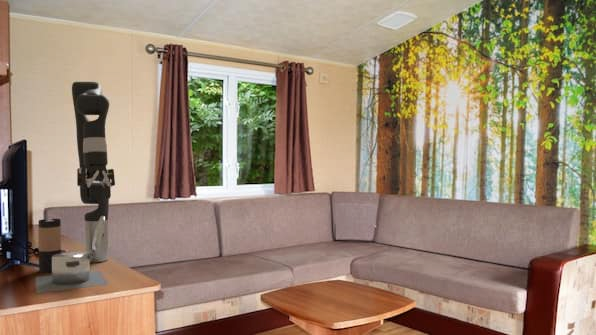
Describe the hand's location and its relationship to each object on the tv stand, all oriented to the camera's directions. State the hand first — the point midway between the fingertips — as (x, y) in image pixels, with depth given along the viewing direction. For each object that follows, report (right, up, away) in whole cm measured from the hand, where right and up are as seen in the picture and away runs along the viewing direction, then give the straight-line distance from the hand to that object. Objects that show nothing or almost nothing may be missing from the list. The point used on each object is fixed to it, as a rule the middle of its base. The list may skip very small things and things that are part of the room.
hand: (97, 198), depth 160 cm
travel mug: (-27, -30, +20) cm, 45 cm away
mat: (-12, -30, +6) cm, 33 cm away
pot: (-12, -29, +6) cm, 32 cm away
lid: (-5, -14, +10) cm, 17 cm away
